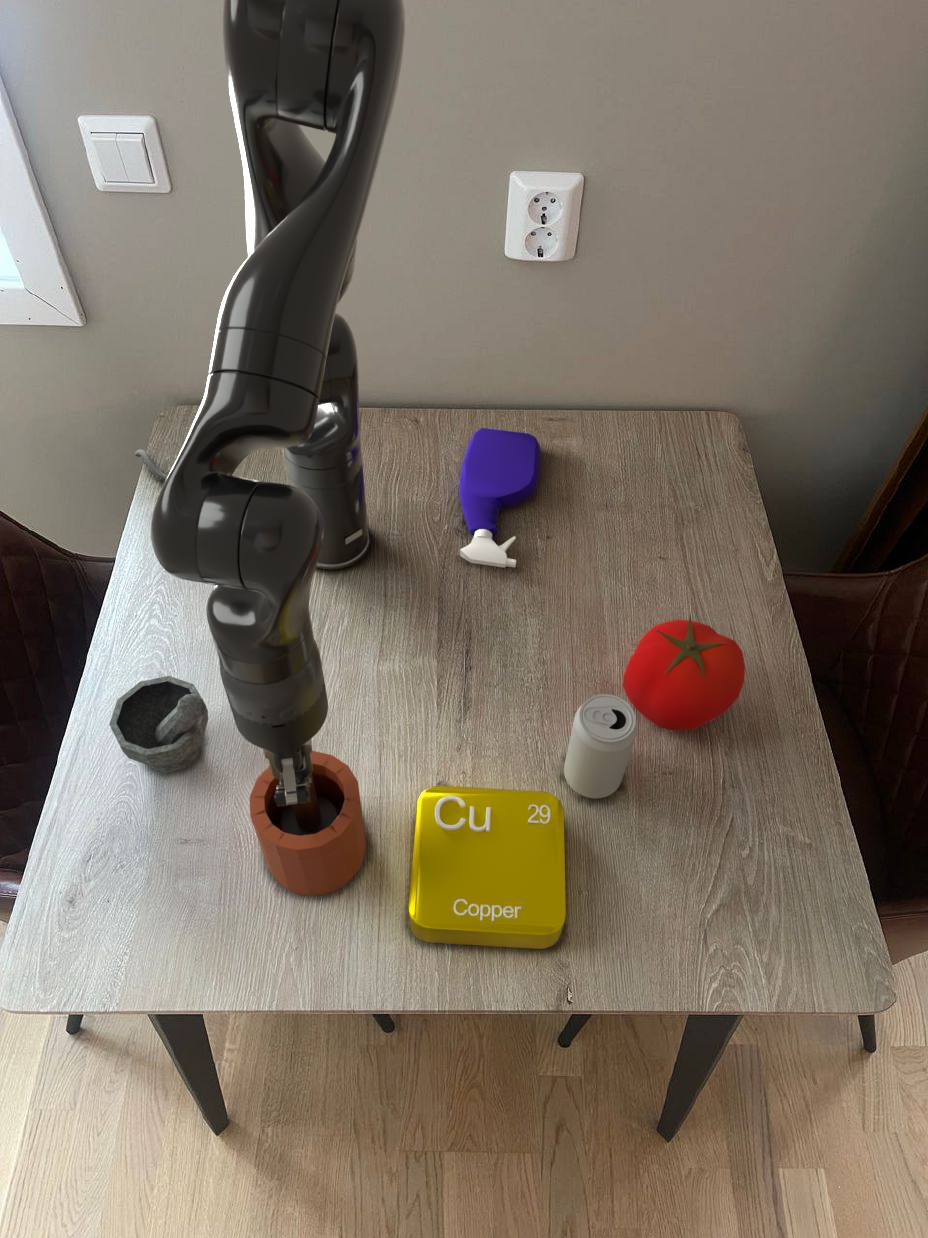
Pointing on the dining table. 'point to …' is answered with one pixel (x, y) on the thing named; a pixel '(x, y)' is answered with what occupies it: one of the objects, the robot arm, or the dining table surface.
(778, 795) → the dining table surface
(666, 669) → the tomato
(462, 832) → the element tile
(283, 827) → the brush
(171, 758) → the mortar and pestle
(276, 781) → the jar
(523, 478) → the spray bottle
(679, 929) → the dining table surface
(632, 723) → the beverage can
